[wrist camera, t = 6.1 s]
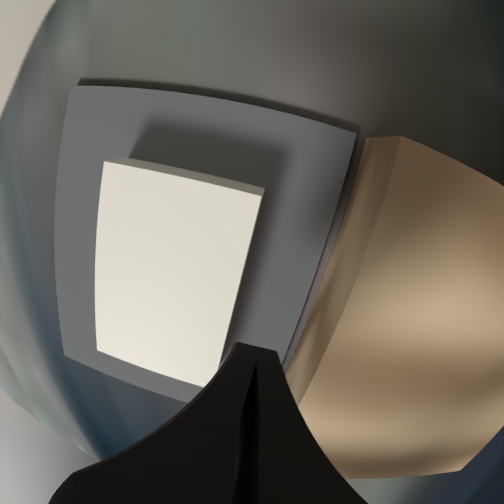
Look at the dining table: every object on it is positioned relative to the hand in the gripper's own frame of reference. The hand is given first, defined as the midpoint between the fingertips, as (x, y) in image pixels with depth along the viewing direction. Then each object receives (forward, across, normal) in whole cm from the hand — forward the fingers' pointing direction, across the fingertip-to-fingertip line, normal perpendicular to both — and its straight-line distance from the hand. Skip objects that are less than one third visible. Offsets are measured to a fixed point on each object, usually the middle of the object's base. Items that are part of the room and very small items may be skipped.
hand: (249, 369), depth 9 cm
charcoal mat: (+5, +5, 0) cm, 7 cm away
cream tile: (+4, +4, 0) cm, 5 cm away
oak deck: (+5, -9, 0) cm, 11 cm away
